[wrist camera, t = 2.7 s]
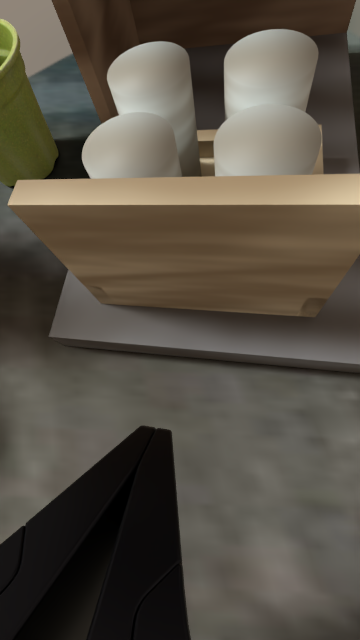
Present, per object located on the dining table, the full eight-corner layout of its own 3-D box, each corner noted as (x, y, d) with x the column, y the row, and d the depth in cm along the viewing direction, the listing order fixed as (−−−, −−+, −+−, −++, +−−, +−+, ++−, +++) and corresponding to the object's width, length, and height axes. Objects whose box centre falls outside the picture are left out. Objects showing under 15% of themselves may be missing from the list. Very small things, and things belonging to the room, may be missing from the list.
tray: (315, 317, 17) (395, 204, 9) (101, 303, 20) (7, 204, 11) (311, 158, 21) (364, -20, 13) (134, 163, 24) (84, 15, 15)
